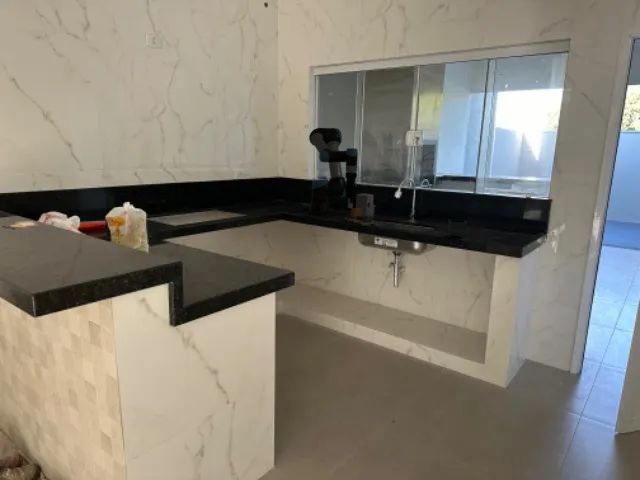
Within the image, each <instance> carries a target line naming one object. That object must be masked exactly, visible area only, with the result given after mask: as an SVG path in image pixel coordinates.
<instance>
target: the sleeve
mask: <svg viewBox="0 0 640 480" xmlns="http://www.w3.org/2000/svg"><path fill="white" fill-rule="evenodd" d="M350 214H351V215H352V218H355V219H356V218H357V216H359V217H362V209H360V208H356V207H355V208H354V207H352V208H350Z"/></svg>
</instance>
